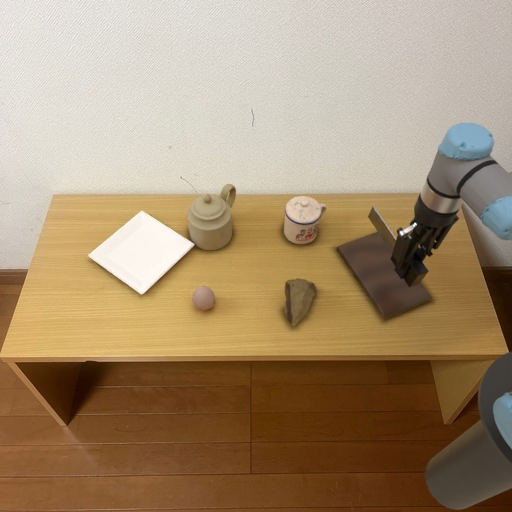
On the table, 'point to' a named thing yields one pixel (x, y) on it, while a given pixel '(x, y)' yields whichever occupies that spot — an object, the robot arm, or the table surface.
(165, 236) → the plate
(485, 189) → the robot arm
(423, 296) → the cutting board
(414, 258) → the knife
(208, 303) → the egg
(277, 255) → the table surface
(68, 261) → the table surface
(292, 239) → the teacup with lid
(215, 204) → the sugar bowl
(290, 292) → the rock
